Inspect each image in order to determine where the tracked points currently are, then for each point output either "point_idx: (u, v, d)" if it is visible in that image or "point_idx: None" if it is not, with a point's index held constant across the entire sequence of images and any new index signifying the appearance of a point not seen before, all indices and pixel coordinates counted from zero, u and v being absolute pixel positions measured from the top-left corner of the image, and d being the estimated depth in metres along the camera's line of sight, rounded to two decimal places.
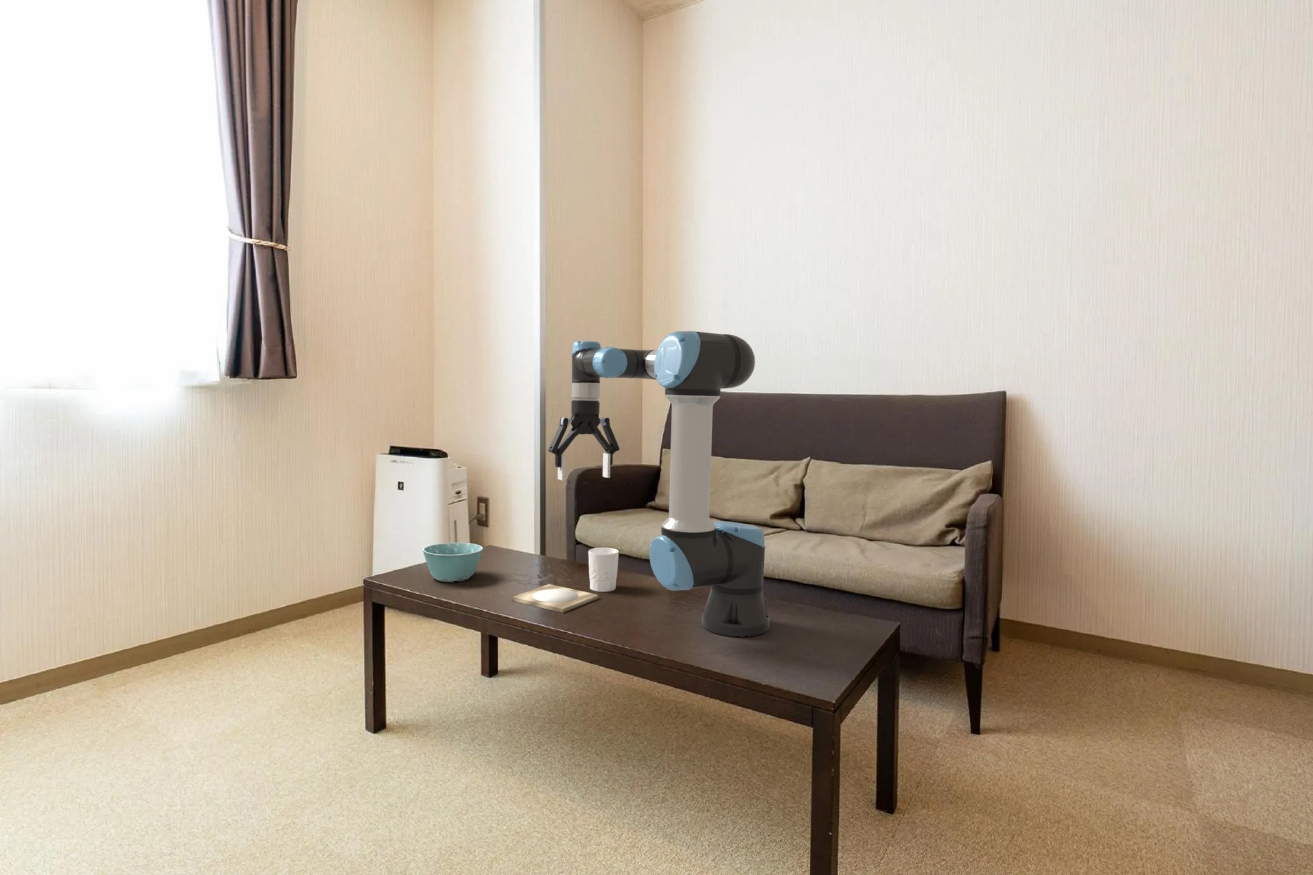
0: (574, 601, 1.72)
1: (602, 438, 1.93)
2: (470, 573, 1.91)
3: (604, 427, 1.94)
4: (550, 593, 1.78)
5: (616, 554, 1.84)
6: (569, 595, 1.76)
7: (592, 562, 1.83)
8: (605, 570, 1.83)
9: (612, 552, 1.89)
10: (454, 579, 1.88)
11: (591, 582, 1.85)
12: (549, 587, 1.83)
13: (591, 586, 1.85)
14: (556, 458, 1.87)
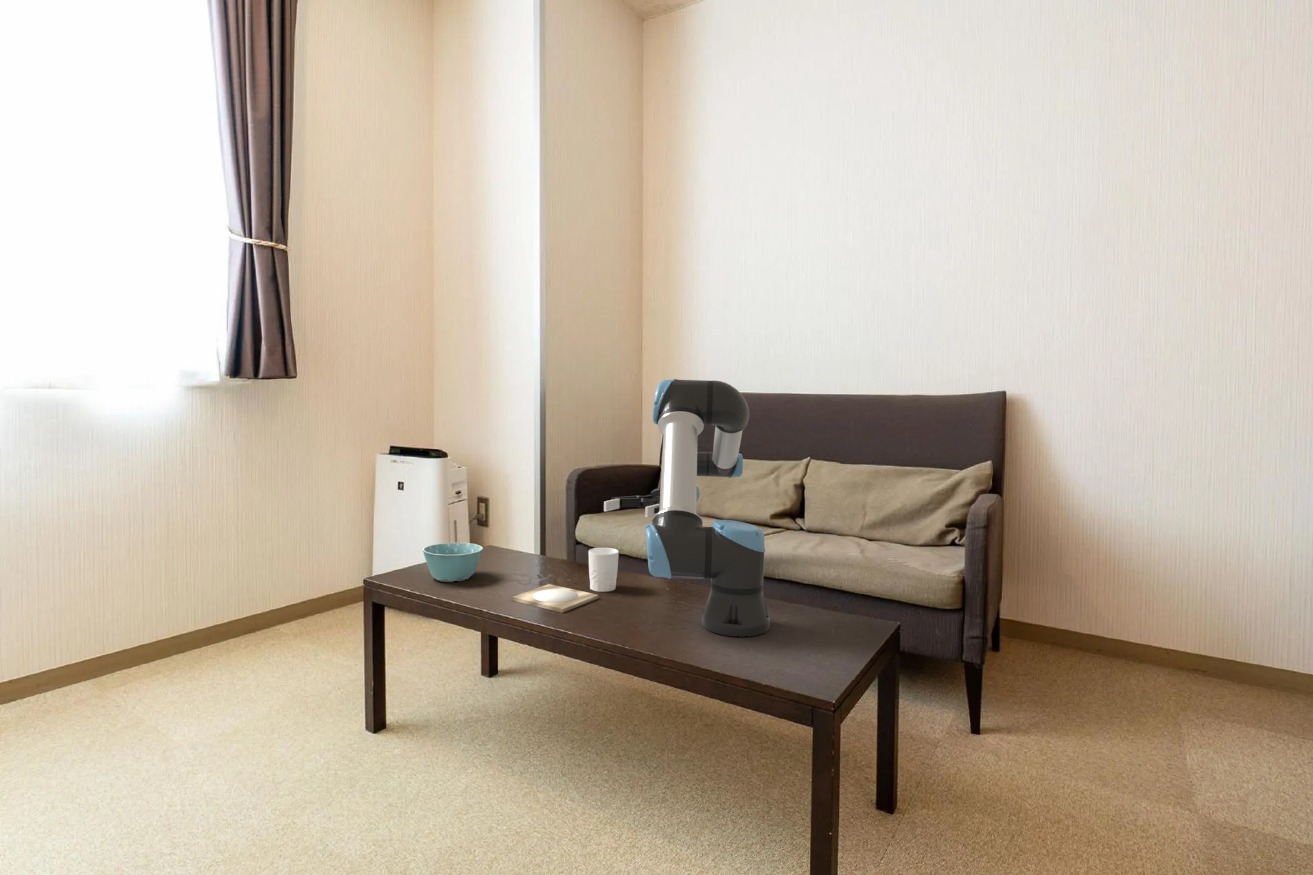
0: (574, 601, 1.72)
1: None
2: (470, 573, 1.91)
3: None
4: (550, 593, 1.78)
5: (616, 554, 1.84)
6: (569, 595, 1.76)
7: (592, 562, 1.83)
8: (605, 570, 1.83)
9: (612, 552, 1.89)
10: (454, 579, 1.88)
11: (591, 582, 1.85)
12: (549, 587, 1.83)
13: (591, 586, 1.85)
14: None
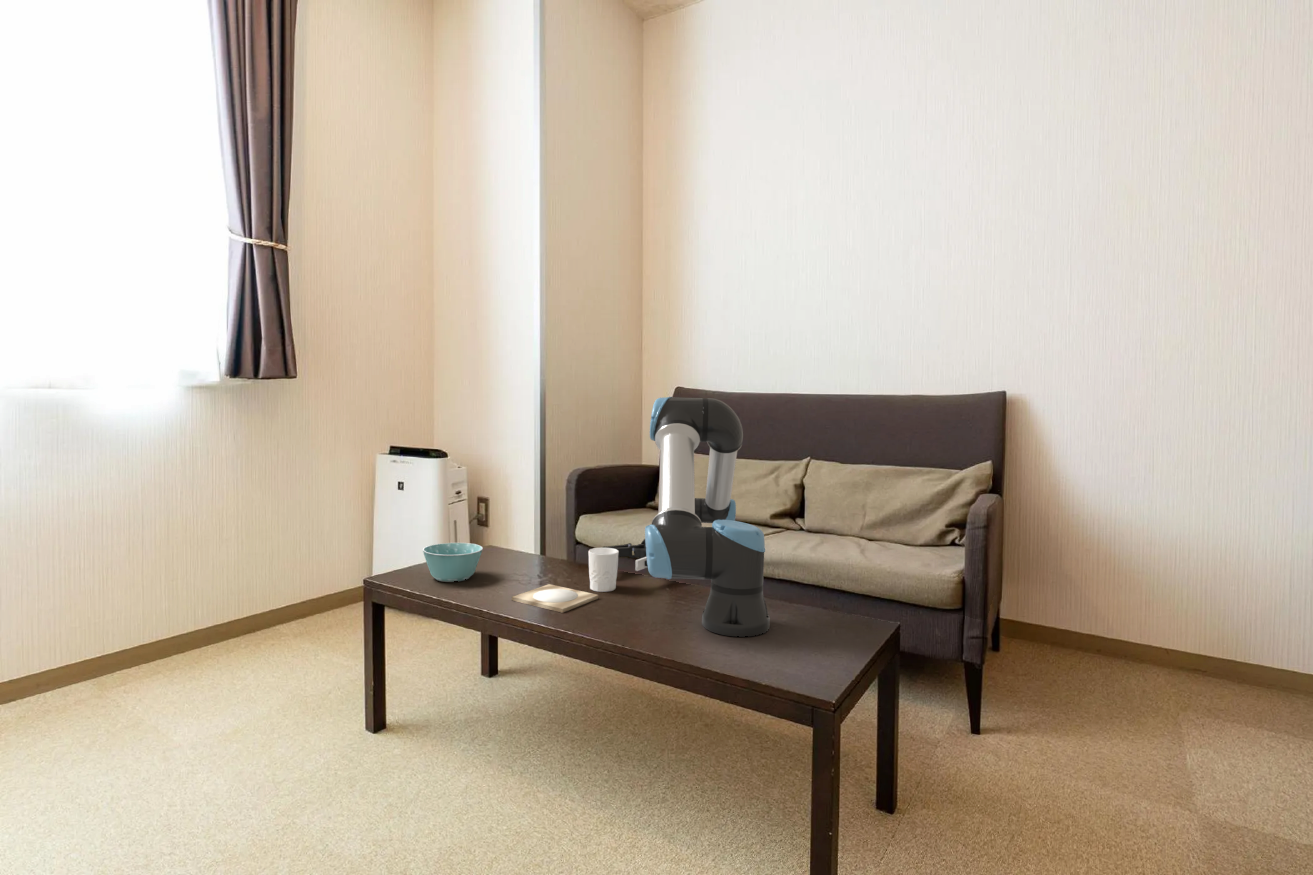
0: (574, 601, 1.72)
1: None
2: (470, 573, 1.91)
3: None
4: (550, 593, 1.78)
5: (616, 554, 1.84)
6: (569, 595, 1.76)
7: (592, 562, 1.83)
8: (605, 570, 1.83)
9: (612, 552, 1.89)
10: (454, 579, 1.88)
11: (591, 582, 1.85)
12: (549, 587, 1.83)
13: (591, 586, 1.85)
14: None
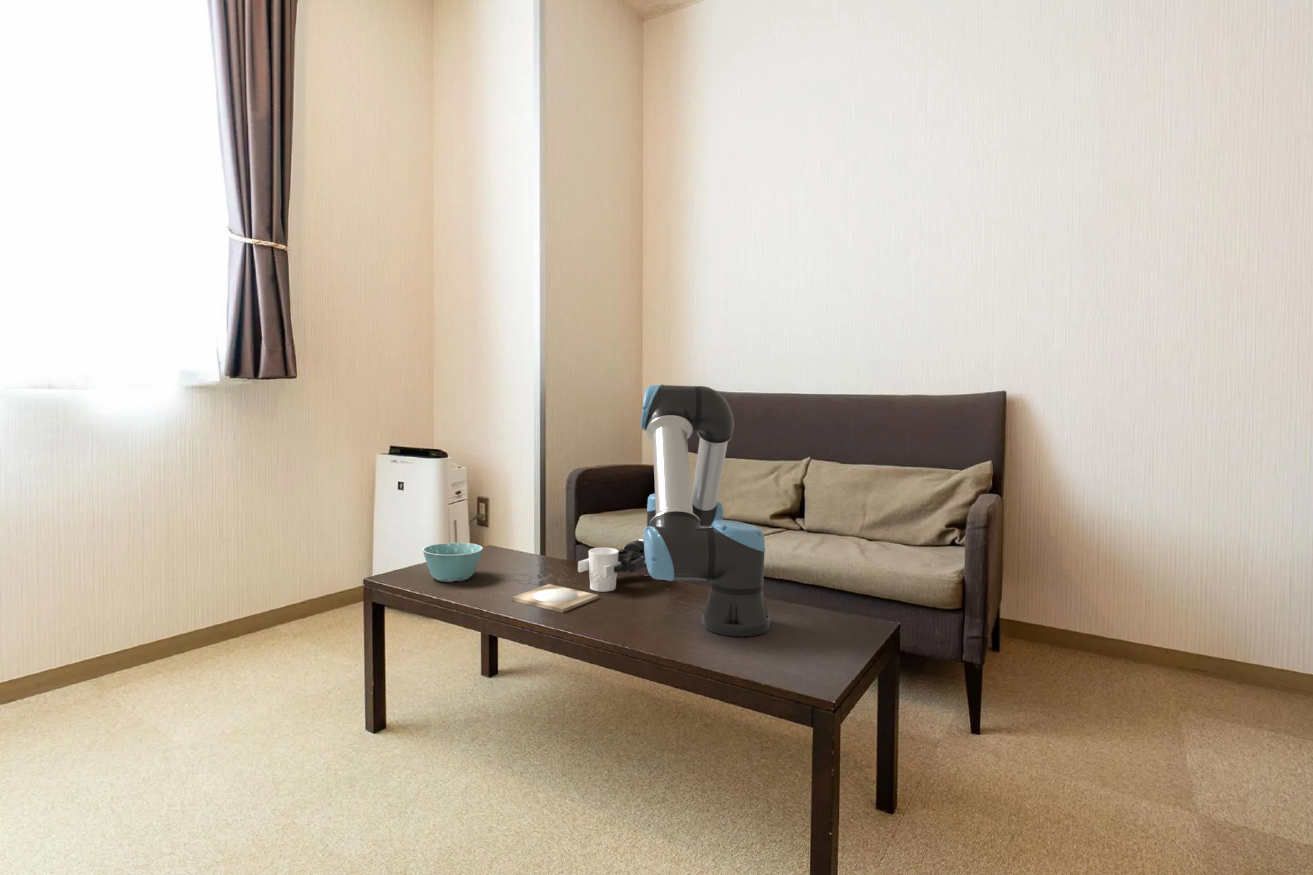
0: (574, 601, 1.72)
1: (628, 558, 1.90)
2: (470, 573, 1.91)
3: None
4: (550, 593, 1.78)
5: (616, 554, 1.84)
6: (569, 595, 1.76)
7: (592, 562, 1.83)
8: None
9: (612, 552, 1.89)
10: (454, 579, 1.88)
11: (591, 582, 1.85)
12: (549, 587, 1.83)
13: (591, 586, 1.85)
14: None
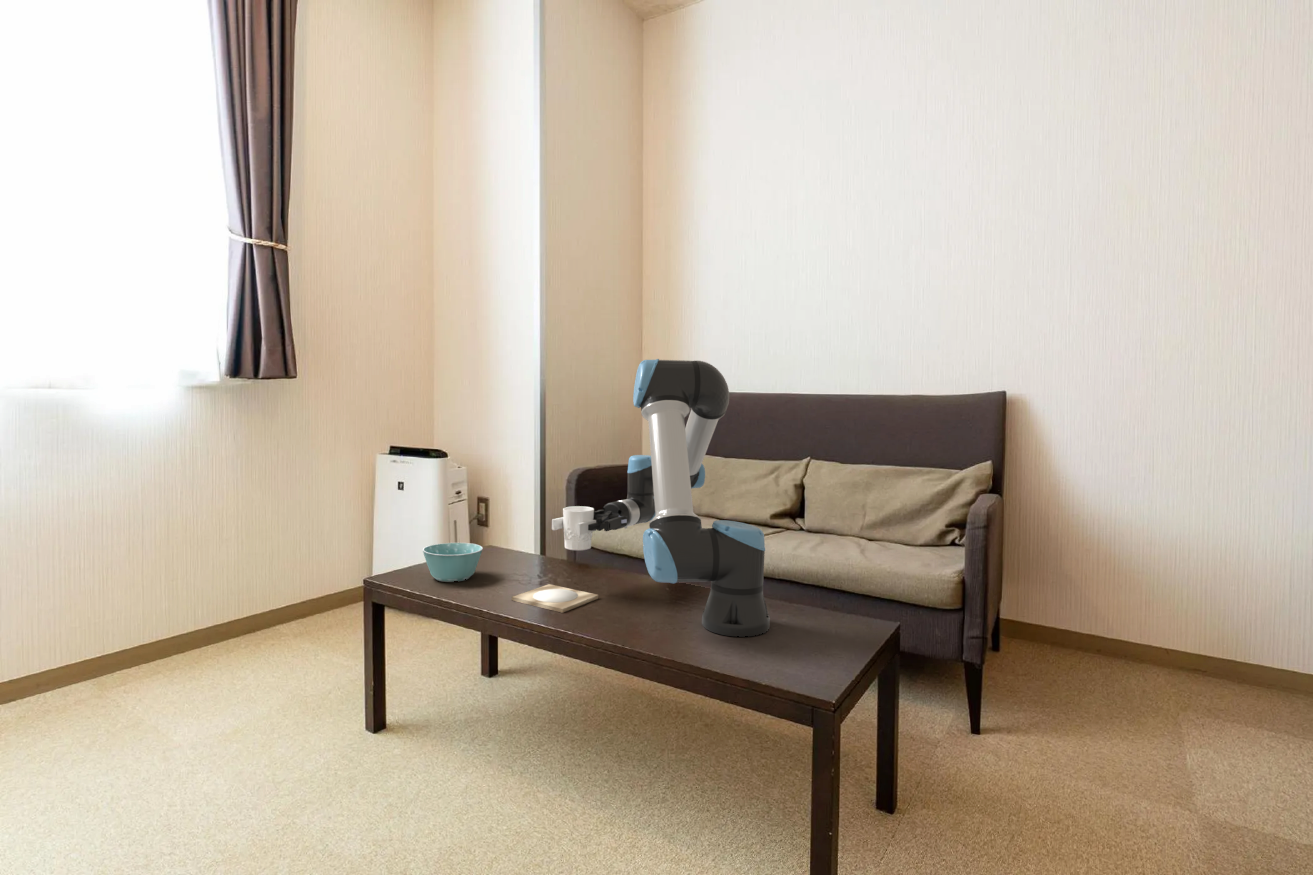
0: (574, 601, 1.72)
1: (604, 517, 1.84)
2: (470, 573, 1.91)
3: None
4: (550, 593, 1.78)
5: (591, 512, 1.79)
6: (569, 595, 1.76)
7: (566, 519, 1.78)
8: None
9: (588, 511, 1.83)
10: (454, 579, 1.88)
11: (565, 540, 1.79)
12: (549, 587, 1.83)
13: (565, 545, 1.80)
14: None
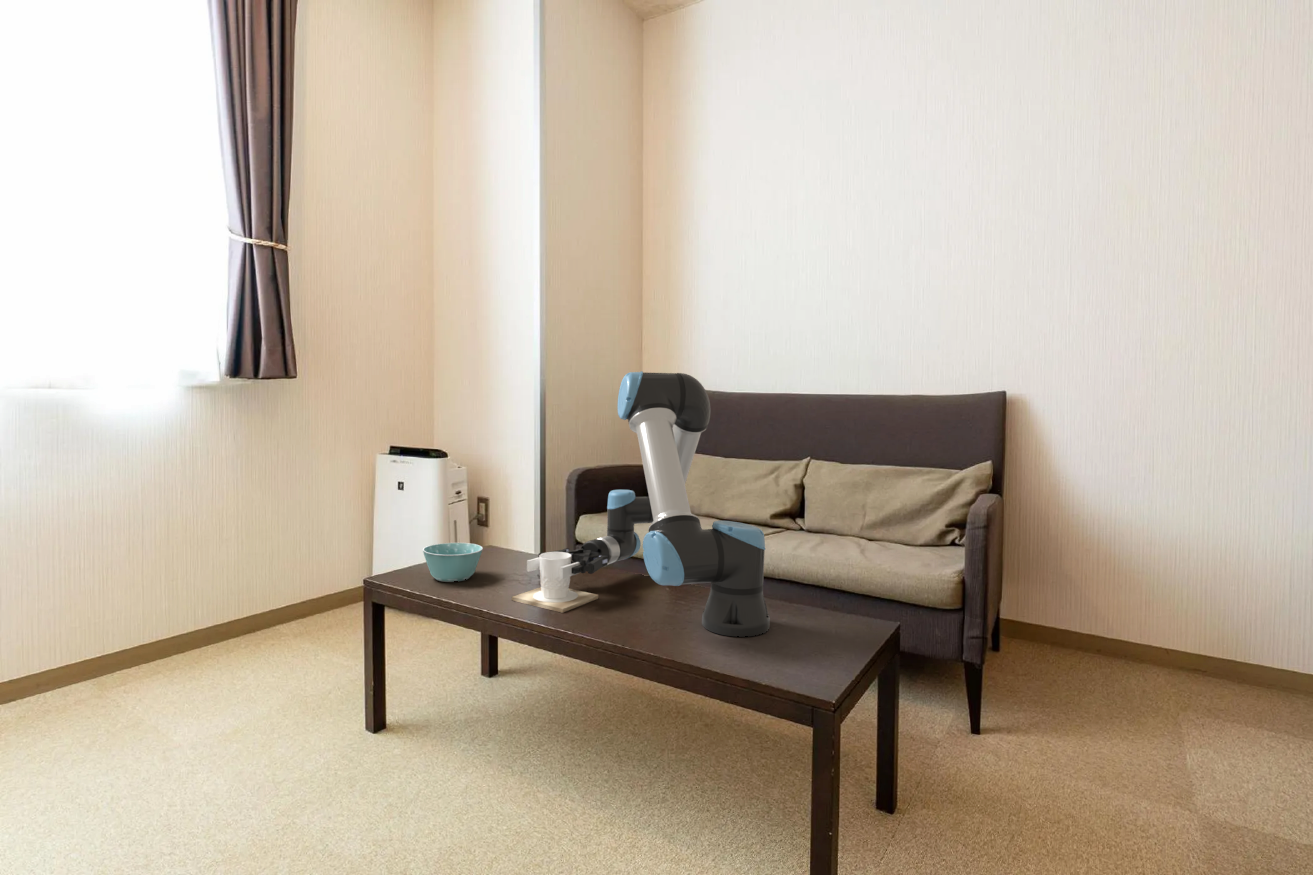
0: (574, 601, 1.72)
1: (586, 558, 1.79)
2: (470, 573, 1.91)
3: None
4: None
5: (568, 559, 1.74)
6: (569, 595, 1.76)
7: (543, 567, 1.73)
8: (556, 576, 1.72)
9: (565, 556, 1.78)
10: (454, 579, 1.88)
11: (542, 588, 1.74)
12: None
13: (542, 593, 1.74)
14: None
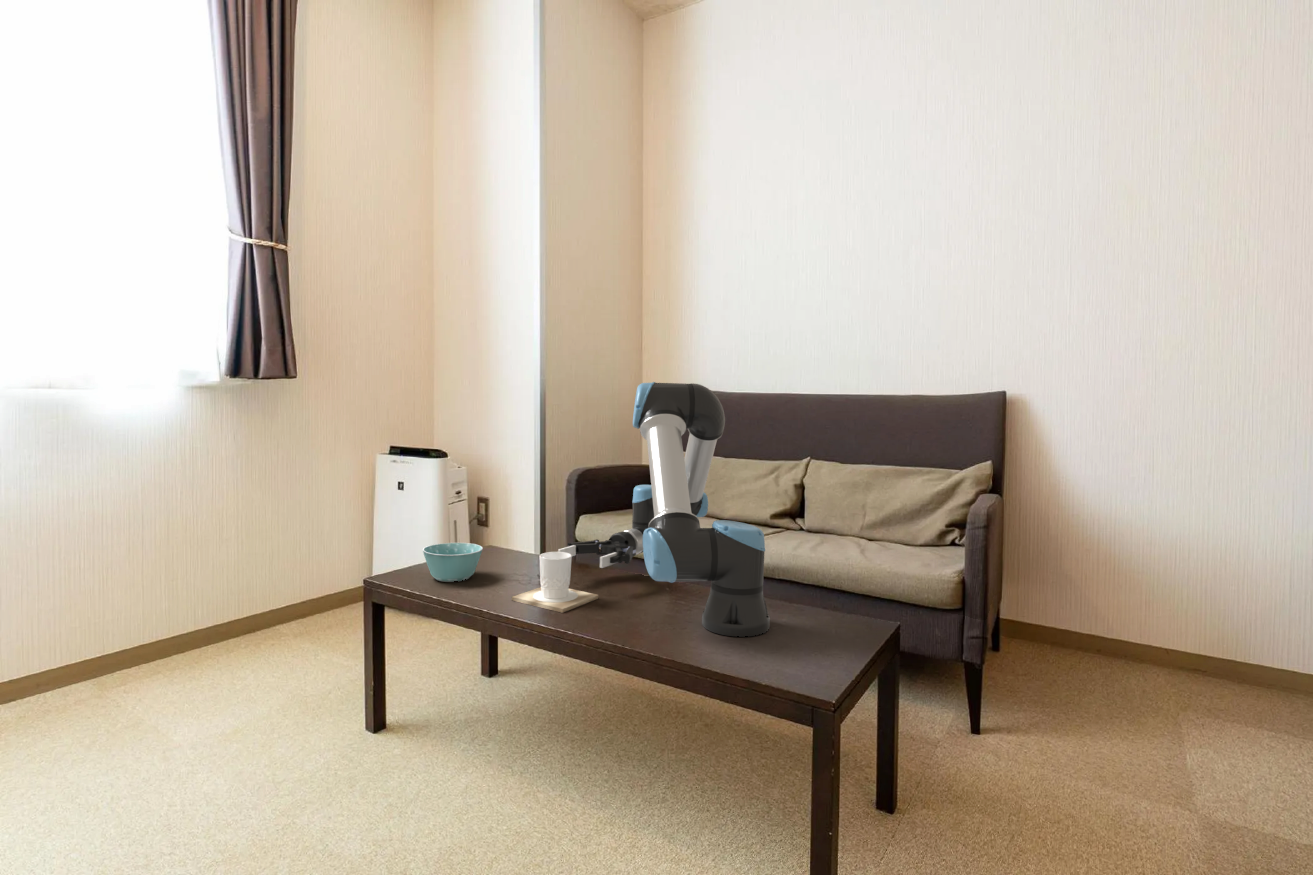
0: (574, 601, 1.72)
1: (618, 548, 1.90)
2: (470, 573, 1.91)
3: None
4: None
5: (568, 559, 1.74)
6: (569, 595, 1.76)
7: (543, 567, 1.73)
8: (556, 576, 1.72)
9: (565, 557, 1.78)
10: (454, 579, 1.88)
11: (542, 588, 1.74)
12: None
13: (542, 593, 1.74)
14: None
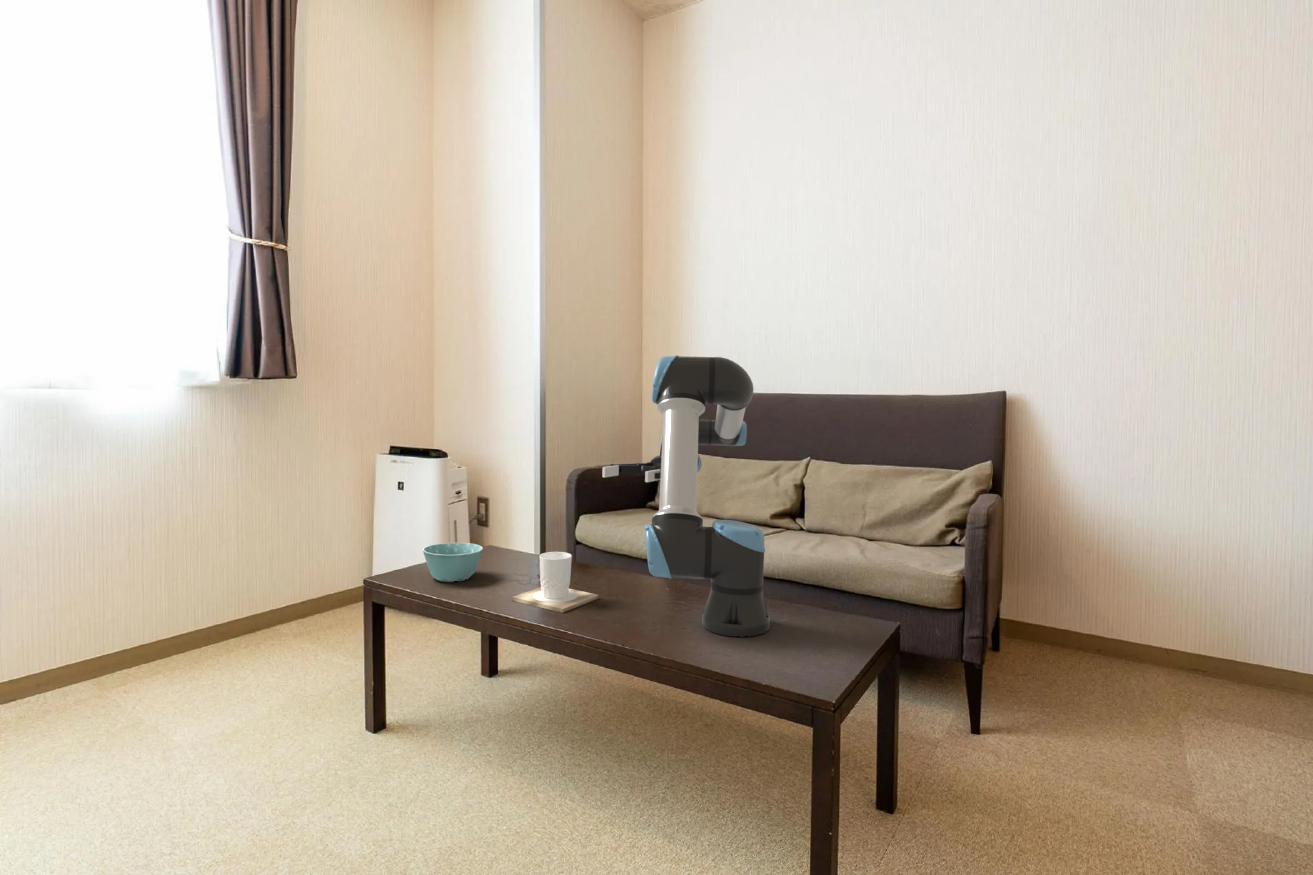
0: (574, 601, 1.72)
1: None
2: (470, 573, 1.91)
3: None
4: None
5: (568, 559, 1.74)
6: (569, 595, 1.76)
7: (543, 567, 1.73)
8: (556, 576, 1.72)
9: (565, 557, 1.78)
10: (454, 579, 1.88)
11: (542, 588, 1.74)
12: None
13: (542, 593, 1.74)
14: None
